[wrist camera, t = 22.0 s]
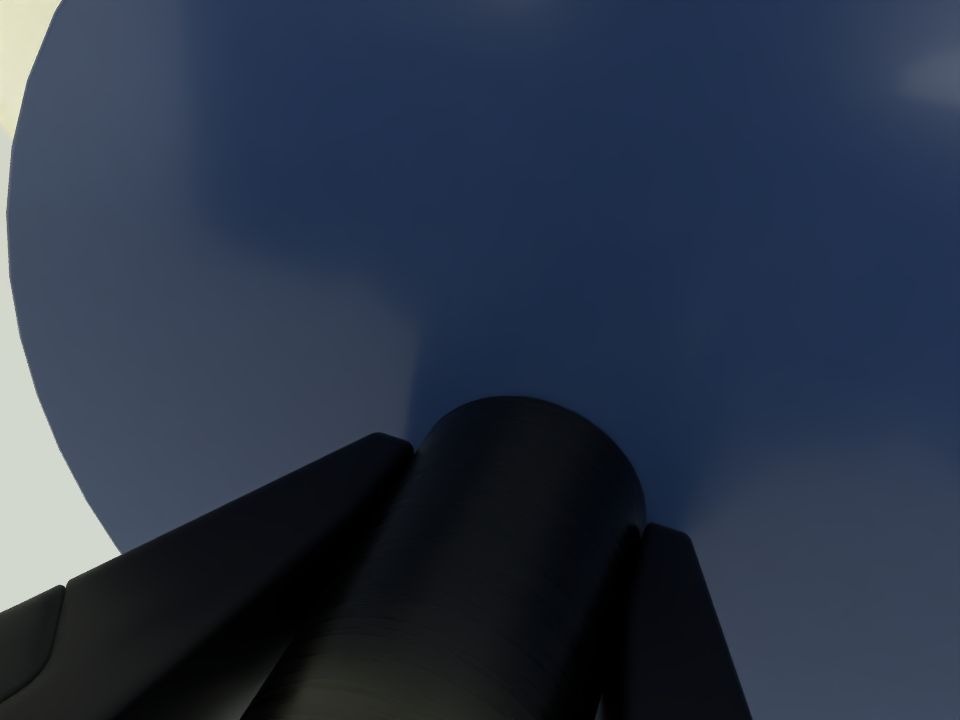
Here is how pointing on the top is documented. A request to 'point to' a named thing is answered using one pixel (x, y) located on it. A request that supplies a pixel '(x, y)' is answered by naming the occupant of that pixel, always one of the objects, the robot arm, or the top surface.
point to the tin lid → (522, 324)
